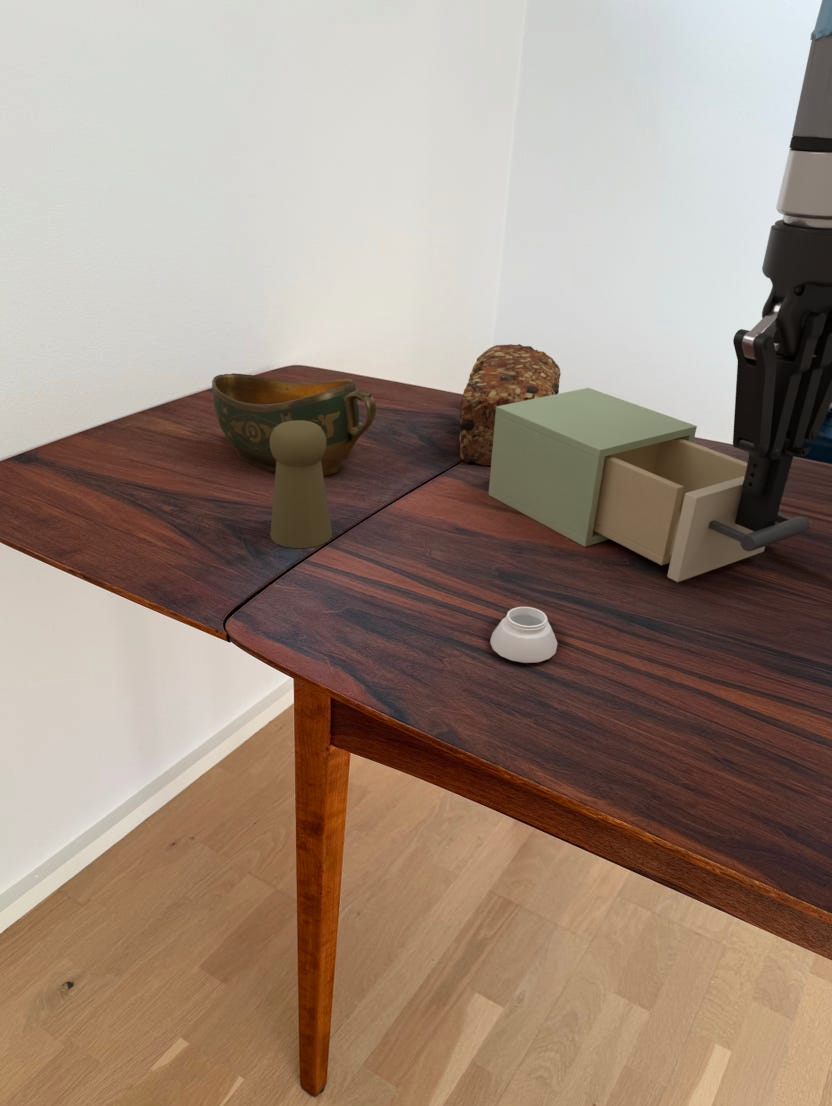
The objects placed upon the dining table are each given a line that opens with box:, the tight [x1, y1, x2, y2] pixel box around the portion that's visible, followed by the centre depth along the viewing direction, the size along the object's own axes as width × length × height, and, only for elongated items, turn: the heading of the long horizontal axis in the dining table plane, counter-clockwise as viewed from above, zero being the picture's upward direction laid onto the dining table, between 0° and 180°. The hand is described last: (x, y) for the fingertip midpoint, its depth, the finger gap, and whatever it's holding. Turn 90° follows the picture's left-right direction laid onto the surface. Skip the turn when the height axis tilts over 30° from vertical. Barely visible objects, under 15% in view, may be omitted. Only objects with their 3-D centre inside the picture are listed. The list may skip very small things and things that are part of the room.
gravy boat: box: [211, 373, 377, 477], centre depth 99 cm, size 13×20×10 cm, turn 28°
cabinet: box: [487, 387, 698, 548], centre depth 89 cm, size 15×13×10 cm
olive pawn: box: [269, 420, 333, 549], centre depth 83 cm, size 6×6×11 cm
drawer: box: [593, 438, 810, 583], centre depth 79 cm, size 18×11×8 cm, turn 31°
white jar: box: [489, 606, 558, 664], centre depth 67 cm, size 5×3×5 cm
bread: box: [459, 343, 562, 466], centre depth 105 cm, size 19×11×10 cm, turn 166°
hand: (753, 526), depth 74 cm, fingers closed
